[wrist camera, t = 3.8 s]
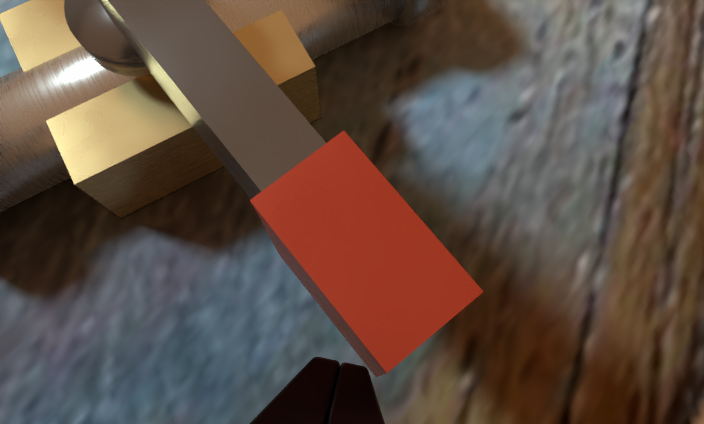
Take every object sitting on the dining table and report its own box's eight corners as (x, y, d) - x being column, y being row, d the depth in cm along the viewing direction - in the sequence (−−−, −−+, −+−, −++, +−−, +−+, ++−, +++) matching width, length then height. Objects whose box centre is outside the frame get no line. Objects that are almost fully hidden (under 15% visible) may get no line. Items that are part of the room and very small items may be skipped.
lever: (55, 11, 15) (-52, -123, 11) (160, -55, 15) (94, -206, 11) (353, 396, 12) (352, 402, 8) (465, 302, 13) (514, 265, 9)
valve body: (445, 54, 19) (468, -26, 15) (-26, 291, 17) (-132, 265, 13) (362, -70, 20) (365, -173, 16) (-85, 136, 18) (-197, 72, 14)
